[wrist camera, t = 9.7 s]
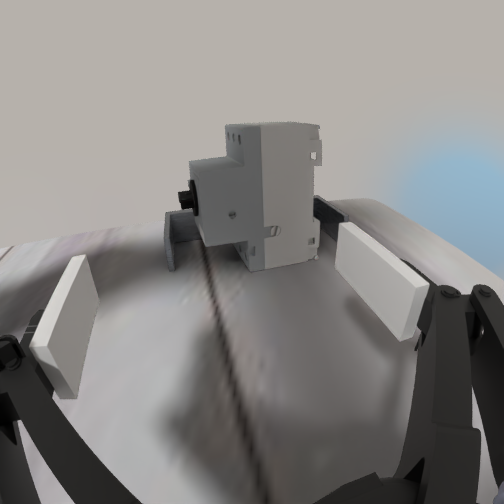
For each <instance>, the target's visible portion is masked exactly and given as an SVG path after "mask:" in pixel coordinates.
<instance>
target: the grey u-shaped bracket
mask: <svg viewBox="0 0 504 504" xmlns="http://www.w3.org/2000/svg"><path fill="white" fill-rule="evenodd" d="M313 217H314V218H316V219H317V220H319V221H320V227H321V228H322V229H323V230H324V231H325V232H326V233H327V234H329V235H330V236H331V237H332V238H333V239H334V240H335V241H338V231H339V223H346V222H348V219H349V216H348V215H347V214H345V213H344V212H342V211H341V210H339V209H338V208H336V207H335V206H333V205H332V204H330V203H329V202H327V201H326V200H324V199H323V198H321V197H320V196H318V195H316V196H313ZM197 239H202V237H201V235H200V232H199V230H198V227H197V225H196V223H195V217H194V214H193V210H192V209H187V210H180V211H172V212H166V214H165V227H164V244H165V249H166V255H167V261H168V266H169V272H170V271H175V265H174V243H175V242H182V241H190V240H197Z"/></svg>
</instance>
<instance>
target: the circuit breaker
mask: <svg viewBox="0 0 504 504" xmlns="http://www.w3.org/2000/svg"><path fill="white" fill-rule="evenodd" d="M318 129H320V126H319V125H314V124H306V123H297V122H265V123H244V124H230V125H225V134H226V151H227V156H226V157H218V158H210V159H202V160H195V161H189V168H190V180H188V186H189V188H190V190H189V191H182V192H178V196H179V202H180V203H181V208H182V210H184V209H190V208H192V210H193V214H194V217H195V223H196V225H197V227H198V230H199V232H200V235H201V237H202V240H203V242H204V244H205V246H206V247H210V246H216V245H223V244H229V243H233V245H234V247H235V249H236V250H237V252H238V253H239V255H240V256H241V258H242V260H243V261H244V263H245V264H246V266H247V268H248V269H249V271H250V272H255V271H260V270H265V269H271V268H276V267H281V266H286V265H291V264H296V263H302V262H307V261H308V259H313V258H314V259H315V260H317V259H318V255H317V247H319V237H320V221H319V220H317V219H316V218H314V217H313V193H314V191H313V190H314V166H321V165H322V142H321V140H319V132H318ZM311 152H316V160H314V159H311ZM313 238H314V243H313Z"/></svg>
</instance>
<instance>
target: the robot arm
mask: <svg viewBox="0 0 504 504" xmlns="http://www.w3.org/2000/svg"><path fill="white" fill-rule="evenodd" d="M335 269H336V270H337V271H338V272H339V273H340V274H341V276H342V277H343V278H344V279H345V280H346V281H347V282H348V283H349V284H350V285H351V287H352V288H353V289H354V290H355V291H356V292H357V293H358V294H359V296H360V297H361V298H362V299H363V300H364V301H365V302H366V303H367V305H368V306H369V307H370V308H371V309H372V310H373V311H374V312H375V314H376V315H377V316H378V317H379V318H380V319H381V321H382V322H383V323H384V324H385V325H386V326H387V327H388V329H389V330H390V331H391V332H392V333H393V334H394V336H395V337H396V338H397V339H398V340H399V341H403V340H406V339H409V338H412V337H413V335H414V332H415V330H416V327H418V328H419V329H420V330H421V334H420V337H419V339H418V342H417V345H416V347H415V350H414V351H417V349H418V357H417V367H416V376H415V384H414V391H413V398H412V405H411V411H410V417H409V422H408V428H407V433H406V438H405V443H404V447H403V452H402V456H401V460H400V464H399V466H398V469H397V471H396V473H395V475H394V477H393V478H380V479H379V477H378V476H377V474H376V472H374V473H372V474H370V475H367V476H365V477H362V478H360V479H357V480H355V481H352V482H350V483H347V484H344V485H343V486H341V487H340V488H338V489H336V490H335V491H333V492H332V493H330V494H329V495H327V496H325V497H324V498H322V499H320V500H319V501H317V502H315V503H313V504H478V503H476V498H477V490H478V481H479V470H480V455H481V432H480V430H479V429H477V428H473V427H472V387H473V390H474V394H475V397H476V401H477V404H478V408H479V412H480V415H481V419H482V423H483V428H484V432H485V436H486V441H487V446H488V451H489V456H490V461H491V466H492V470H493V474H494V477H495V480H496V484H497V486H498V489H499V491H498V495H497V496H496V497H495V498H494V500H493V504H504V305H503V303H502V302H501V300H500V299H499V297H498V295H497V294H496V292H495V291H494V290H493V289H491V288H490V287H489V286H486V285H481V284H479V285H475V286H474V287H473V289H472V292H471V294H470V295H461V293H460V292H459V291H458V290H457V289H455V288H454V287H451V286H448V285H440V286H437V285H436V284H435V283H434V282H432V281H431V280H430V279H429V278H428V277H426V276H425V275H424V274H423V273H422V274H421V272H420V271H419V270H418V269H416V268H415V267H414V266H413V265H412V264H410V263H409V262H407V261H405V260H402V259H399V258H397V257H396V256H395V255H394V254H392V253H391V252H390V251H389V250H387V249H386V248H385V247H384V246H382V245H381V244H380V243H378V242H377V241H376V240H375V239H373V238H372V237H371V236H369V235H368V234H367V233H365V232H364V231H363V230H361V229H360V228H359V227H357V226H356V225H355V224H353V223H352V222H346V223H339V231H338V241H337V251H336V261H335ZM99 302H100V300H99V297H98V294H97V291H96V288H95V284H94V281H93V277H92V274H91V271H90V267H89V263H88V260H87V256H86V255H79V256H73V257H72V258H71V260H70V262H69V264H68V266H67V268H66V269H65V271H64V273H63V275H62V277H61V279H60V281H59V283H58V285H57V287H56V289H55V291H54V293H53V295H52V297H51V299H50V301H49V303H48V305H47V307H46V309H45V310H39V311H38V312H37V313H36V314H35V315H34V316H33V317H32V319H31V321H30V323H29V325H28V327H27V329H26V331H25V334H24V336H23V338H22V340H21V342H20V344H19V342H18V340H17V338H16V337H15V336H13V335H4V336H2V337H0V504H41V502H40V499H39V497H38V494H37V491H36V488H35V485H34V482H33V479H32V476H31V473H30V470H29V466H28V463H27V459H26V456H25V452H24V448H23V444H22V440H21V436H20V432H19V427H18V422H17V420H22V422H23V424H24V426H25V428H26V430H27V432H28V433H29V435H30V437H31V439H32V440H33V442H34V444H35V446H36V447H37V449H38V451H39V452H40V454H41V455H42V457H43V459H44V460H45V462H46V463H47V465H48V466H49V468H50V469H51V471H52V472H53V474H54V475H55V477H56V478H57V480H58V481H59V483H60V484H61V485H62V487H63V488H64V489H65V491H66V492H67V494H68V495H69V496H70V498H71V499H72V500H73V501H74V503H75V504H142V503H141V502H140V501H139V500H138V499H137V498H136V497H135V496H134V495H133V494H132V493H131V492H130V491H129V490H128V489H127V488H126V487H125V486H124V485H123V484H122V483H121V482H120V481H119V480H118V479H117V478H116V477H115V476H114V475H113V474H112V473H111V472H110V471H109V470H108V469H107V467H106V466H105V465H104V464H103V463H102V462H101V461H100V460H99V458H98V457H97V456H96V455H95V454H94V453H93V451H92V450H91V449H90V448H89V447H88V445H87V444H86V443H85V442H84V441H83V439H82V438H81V437H80V436H79V434H78V433H77V432H76V430H75V429H74V428H73V426H72V425H71V424H70V423H69V421H68V420H67V418H66V417H65V416H64V414H63V413H62V412H61V410H60V409H59V407H58V406H57V404H56V403H55V401H54V400H53V399H52V396H53V392H54V390H55V392H56V393H57V395H58V397H59V398H60V399H77V397H78V391H79V386H80V381H81V376H82V371H83V366H84V361H85V357H86V352H87V348H88V344H89V340H90V336H91V332H92V328H93V324H94V320H95V316H96V312H97V309H98V305H99ZM483 329H484V332H483V334H482V331H483Z"/></svg>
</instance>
